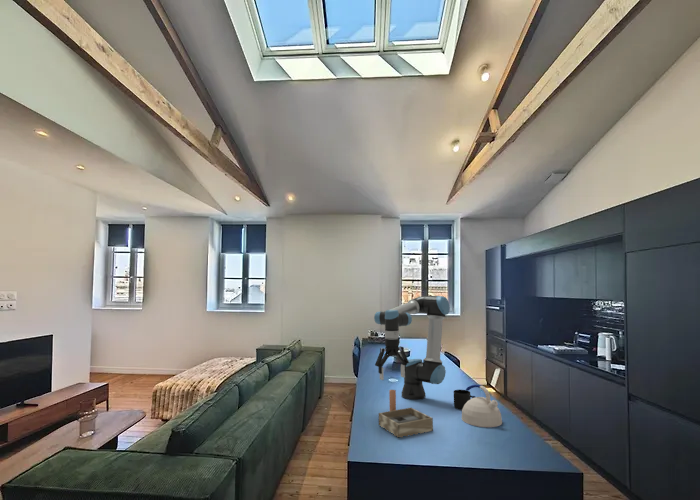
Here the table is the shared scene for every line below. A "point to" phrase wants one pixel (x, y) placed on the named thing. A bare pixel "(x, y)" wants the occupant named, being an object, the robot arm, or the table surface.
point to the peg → (392, 399)
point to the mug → (461, 398)
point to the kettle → (481, 410)
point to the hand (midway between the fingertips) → (392, 378)
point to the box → (405, 422)
